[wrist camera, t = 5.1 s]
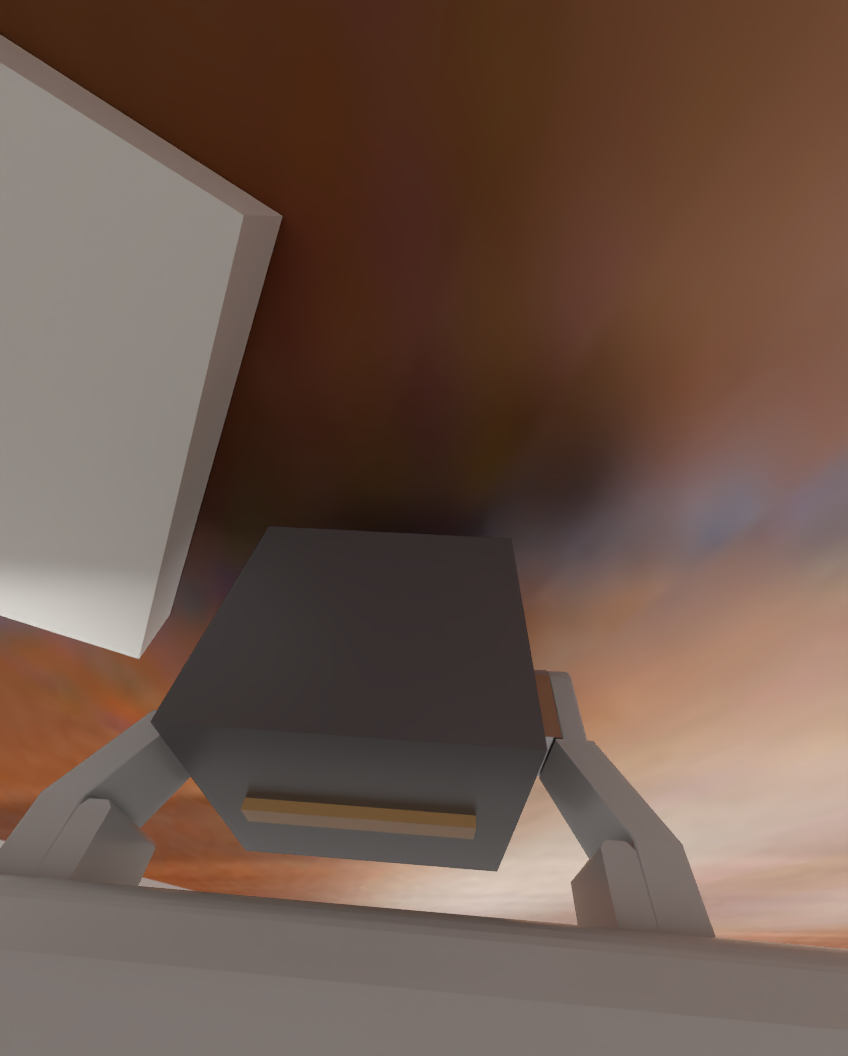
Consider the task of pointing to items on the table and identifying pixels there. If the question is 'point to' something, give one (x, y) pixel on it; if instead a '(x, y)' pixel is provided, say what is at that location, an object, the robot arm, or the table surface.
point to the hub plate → (110, 353)
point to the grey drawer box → (365, 699)
